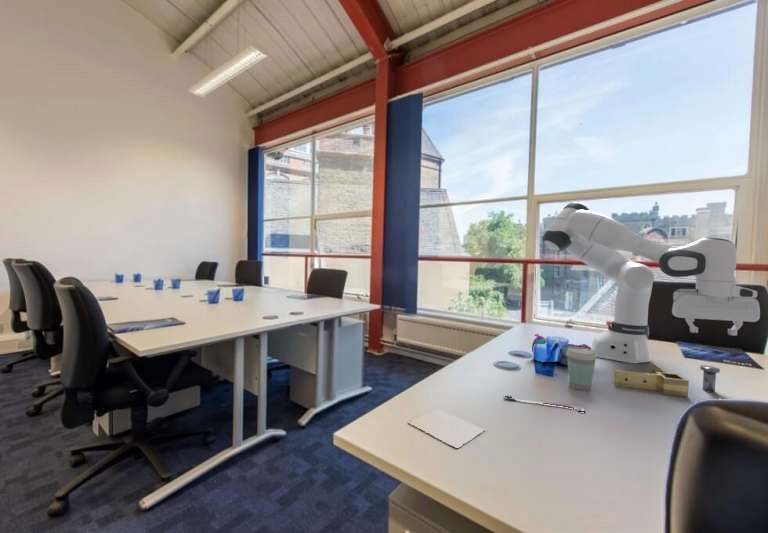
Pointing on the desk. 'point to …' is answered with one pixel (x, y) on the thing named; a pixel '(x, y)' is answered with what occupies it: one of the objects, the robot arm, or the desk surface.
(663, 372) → the hinge
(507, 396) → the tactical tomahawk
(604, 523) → the desk surface
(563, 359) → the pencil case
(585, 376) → the coffee cup
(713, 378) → the hinge pin
